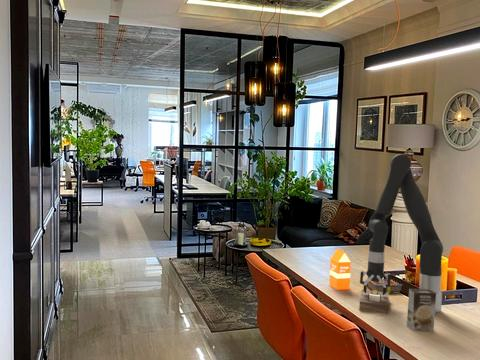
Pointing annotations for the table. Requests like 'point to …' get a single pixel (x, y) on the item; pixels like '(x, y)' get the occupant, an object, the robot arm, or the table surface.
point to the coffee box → (421, 310)
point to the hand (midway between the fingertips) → (374, 293)
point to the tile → (374, 298)
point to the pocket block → (374, 306)
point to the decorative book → (393, 287)
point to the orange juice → (340, 270)
